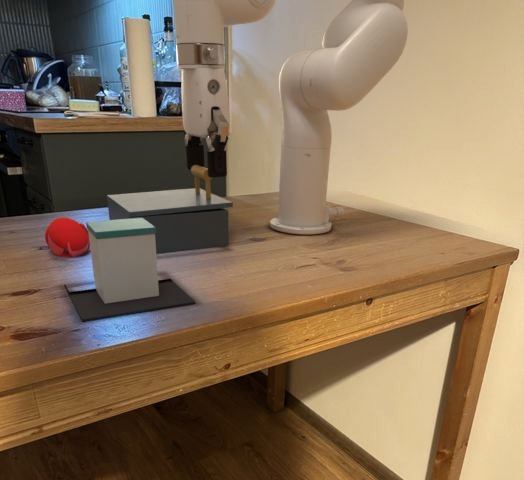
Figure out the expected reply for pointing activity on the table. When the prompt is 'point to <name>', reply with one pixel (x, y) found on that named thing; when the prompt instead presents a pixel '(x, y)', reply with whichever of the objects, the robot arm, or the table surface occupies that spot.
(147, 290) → the container
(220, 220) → the chest
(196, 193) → the lid
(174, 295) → the mat
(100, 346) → the table surface
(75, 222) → the cap
